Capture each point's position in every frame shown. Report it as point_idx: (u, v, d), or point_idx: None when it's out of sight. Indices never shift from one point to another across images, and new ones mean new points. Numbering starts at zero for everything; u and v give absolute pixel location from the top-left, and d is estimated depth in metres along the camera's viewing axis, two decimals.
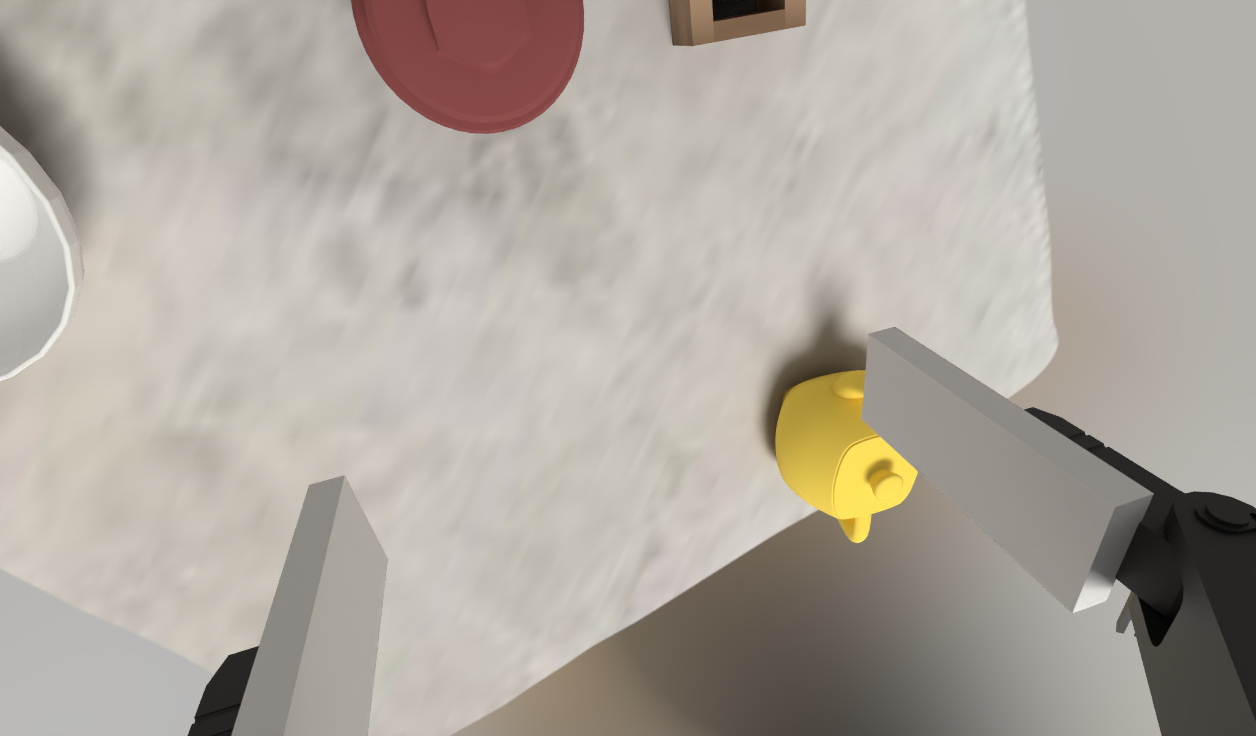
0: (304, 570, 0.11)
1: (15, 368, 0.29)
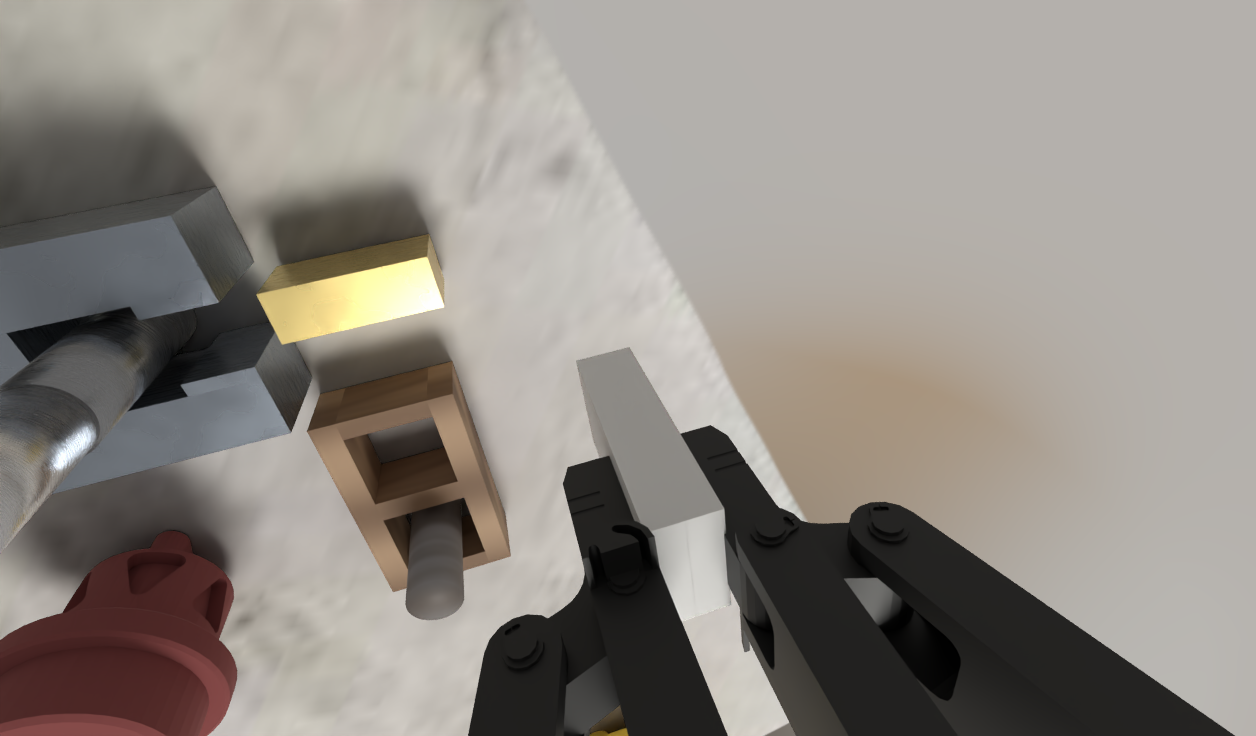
0: (614, 408, 0.14)
1: None
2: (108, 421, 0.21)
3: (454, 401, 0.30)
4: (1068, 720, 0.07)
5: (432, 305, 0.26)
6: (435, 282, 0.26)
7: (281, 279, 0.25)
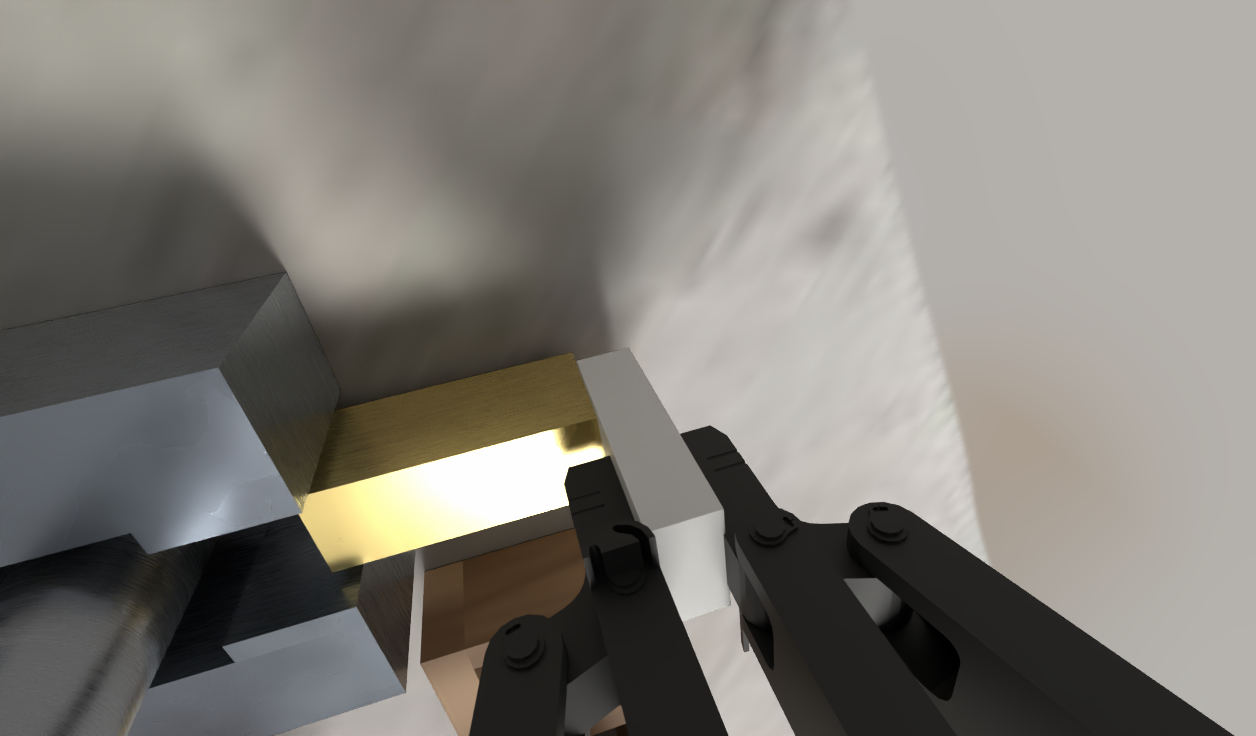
0: (614, 408, 0.14)
1: None
2: None
3: None
4: (1068, 720, 0.07)
5: None
6: (603, 456, 0.15)
7: (333, 455, 0.14)
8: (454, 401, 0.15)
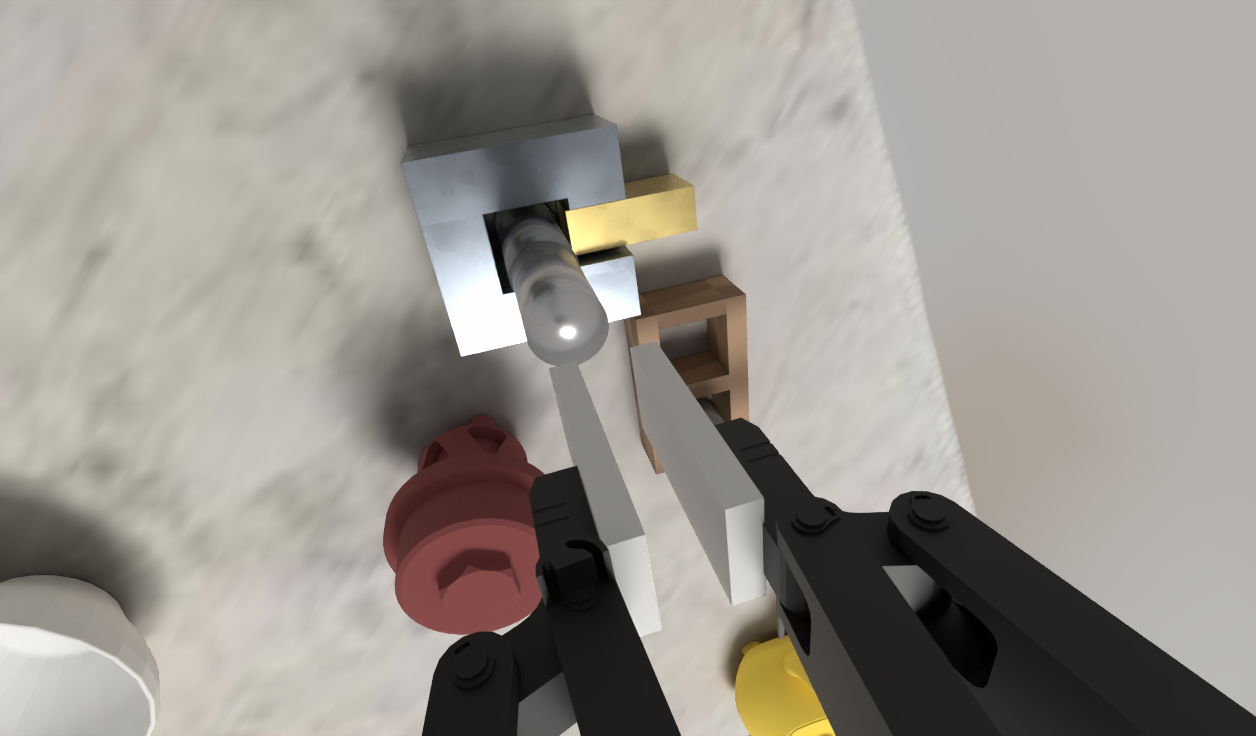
0: (582, 417, 0.13)
1: None
2: None
3: (745, 301, 0.36)
4: (1105, 709, 0.07)
5: (688, 228, 0.32)
6: (694, 208, 0.32)
7: None
8: None
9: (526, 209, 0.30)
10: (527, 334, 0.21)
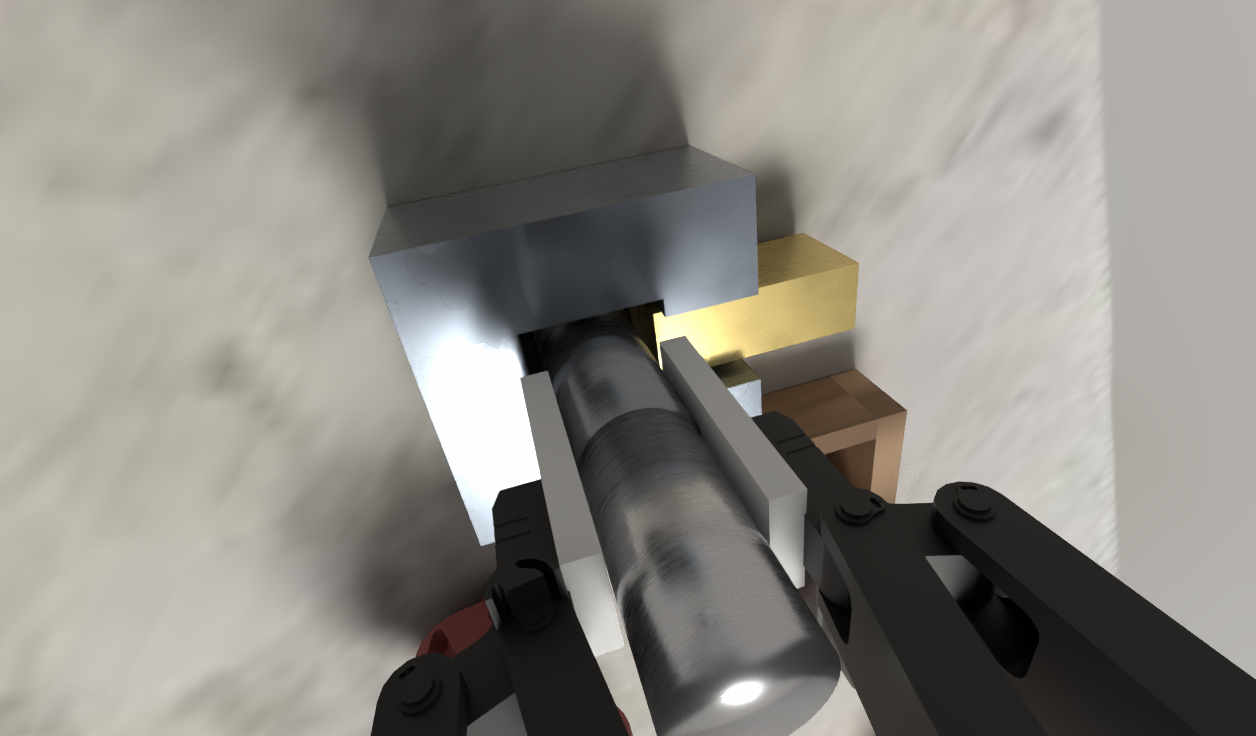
0: (549, 428, 0.13)
1: None
2: None
3: (904, 419, 0.24)
4: (1147, 700, 0.07)
5: (842, 326, 0.20)
6: (854, 296, 0.20)
7: None
8: None
9: None
10: (660, 729, 0.09)
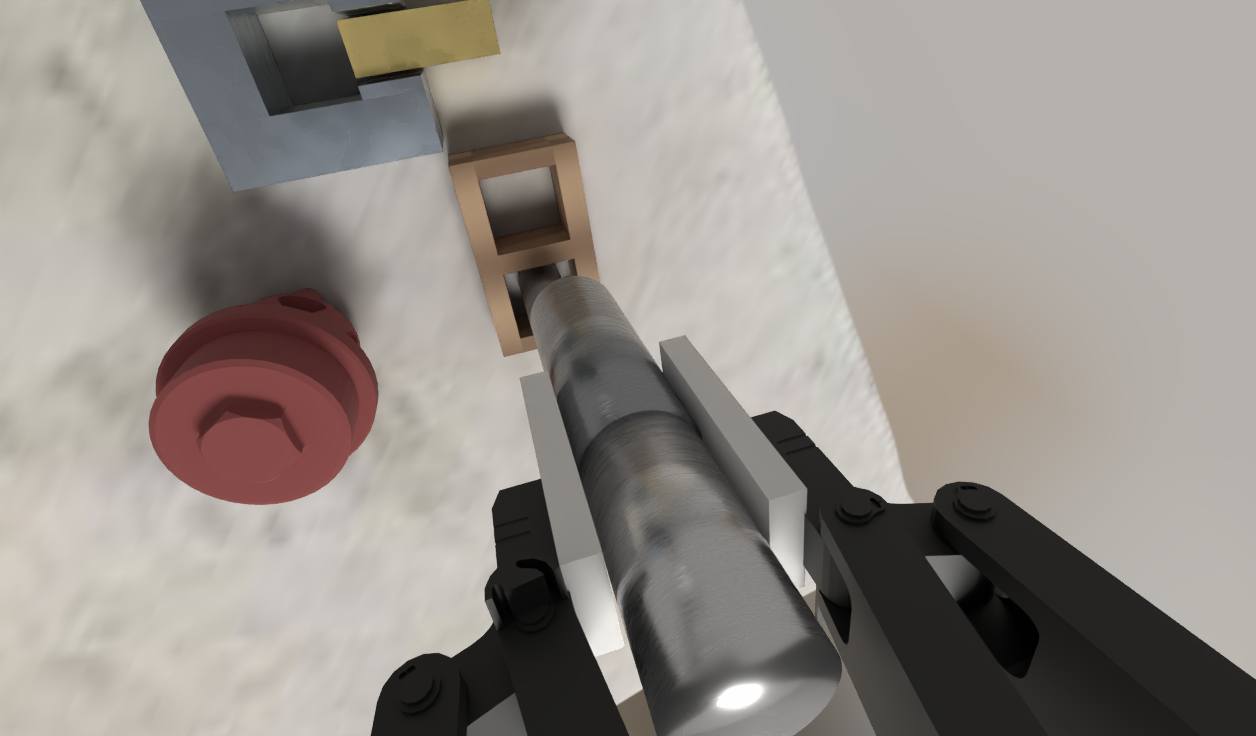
0: (549, 429, 0.13)
1: None
2: None
3: (575, 150, 0.33)
4: (1148, 700, 0.07)
5: (490, 51, 0.29)
6: (493, 26, 0.29)
7: None
8: None
9: (588, 316, 0.18)
10: (660, 730, 0.09)
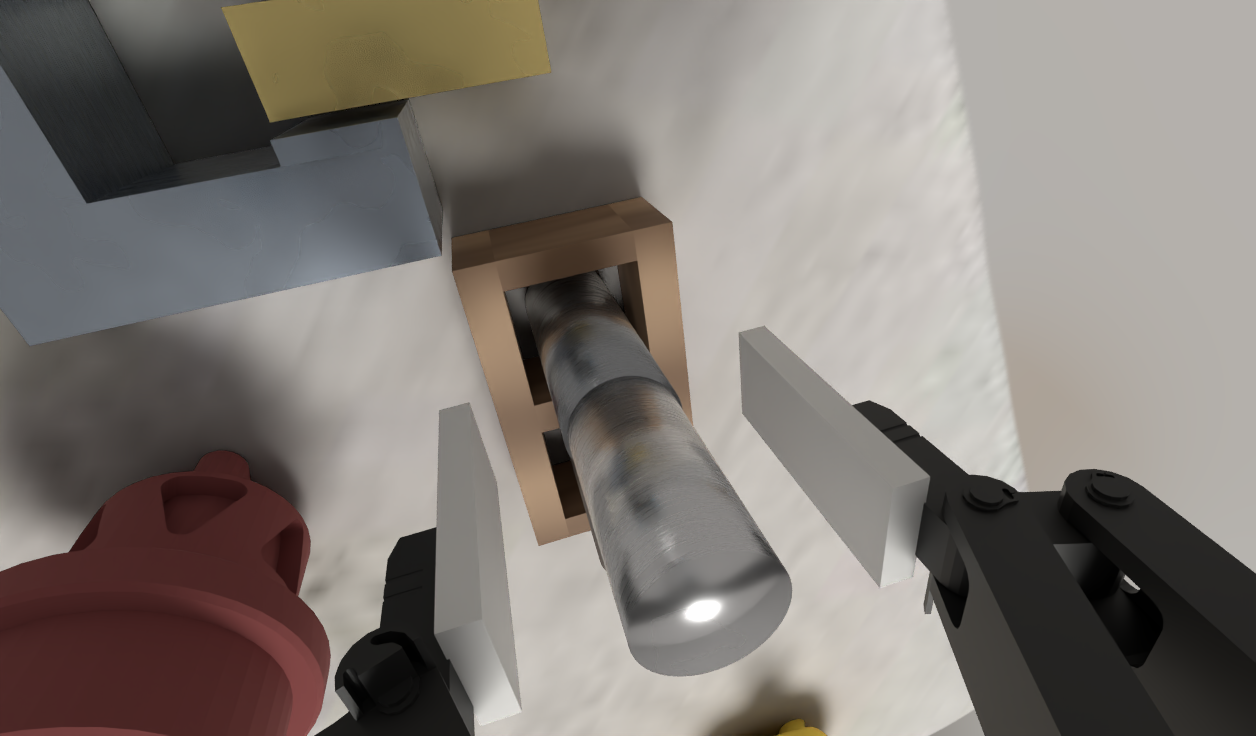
0: (457, 470, 0.12)
1: None
2: None
3: (672, 236, 0.19)
4: None
5: (532, 67, 0.15)
6: (540, 20, 0.15)
7: None
8: None
9: (578, 296, 0.19)
10: (630, 638, 0.10)
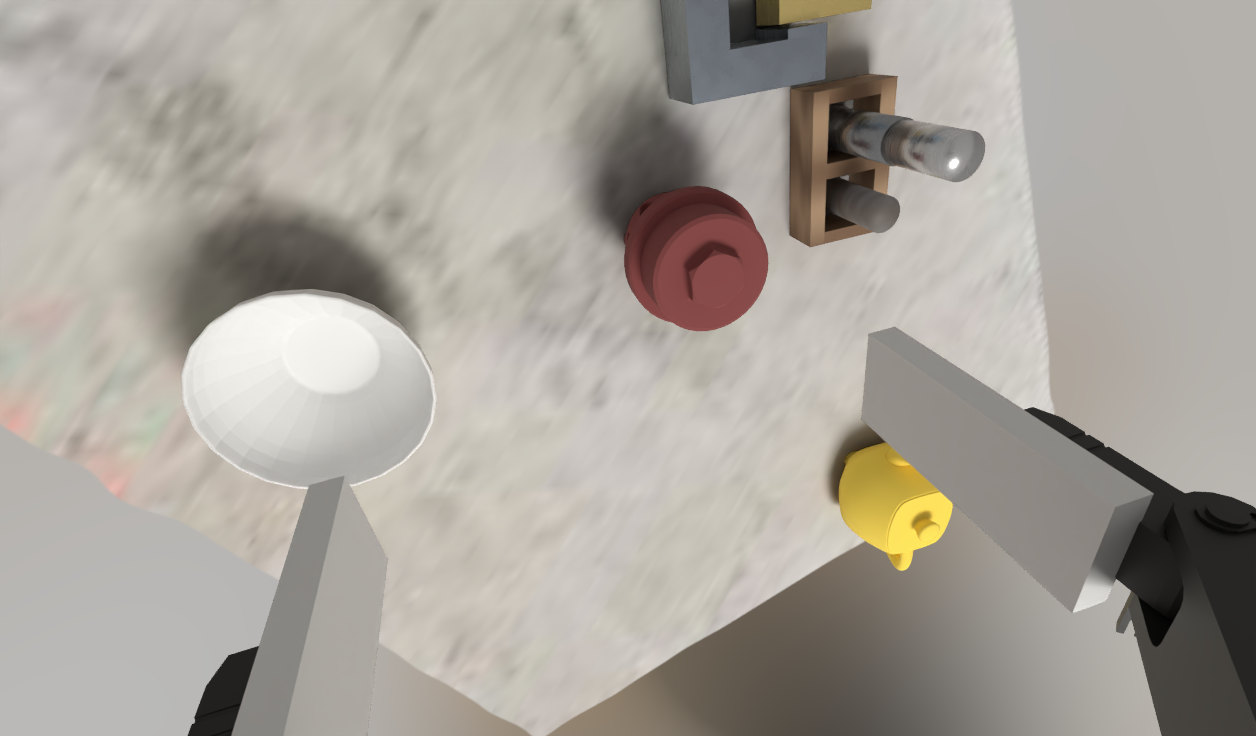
0: (304, 570, 0.11)
1: (387, 470, 0.45)
2: None
3: (896, 83, 0.45)
4: None
5: (865, 6, 0.41)
6: None
7: None
8: None
9: (857, 109, 0.45)
10: (943, 158, 0.36)
